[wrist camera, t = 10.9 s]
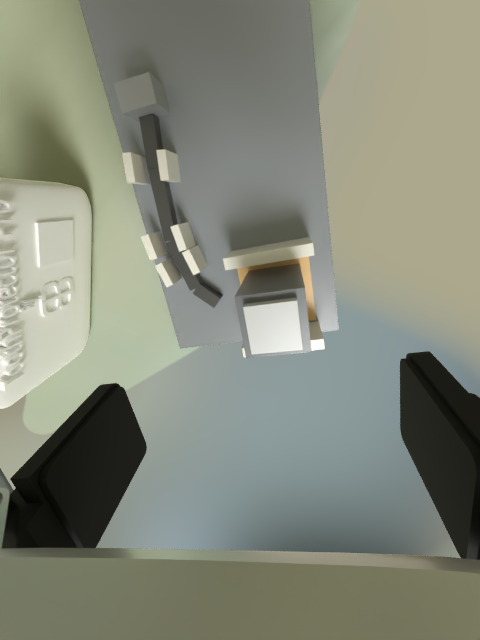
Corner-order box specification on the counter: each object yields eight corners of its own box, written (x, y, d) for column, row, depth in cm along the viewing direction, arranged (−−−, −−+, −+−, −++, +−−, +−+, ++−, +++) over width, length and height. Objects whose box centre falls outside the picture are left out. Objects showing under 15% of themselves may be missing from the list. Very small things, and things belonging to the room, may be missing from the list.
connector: (248, 270, 24) (232, 299, 17) (299, 263, 23) (305, 290, 16) (256, 317, 25) (244, 362, 18) (305, 311, 24) (312, 356, 17)
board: (78, -30, 20) (19, -95, 15) (295, -121, 17) (299, -233, 12) (184, 342, 29) (166, 367, 24) (336, 324, 26) (346, 349, 21)
